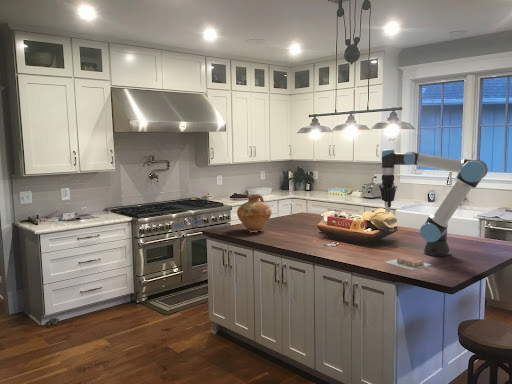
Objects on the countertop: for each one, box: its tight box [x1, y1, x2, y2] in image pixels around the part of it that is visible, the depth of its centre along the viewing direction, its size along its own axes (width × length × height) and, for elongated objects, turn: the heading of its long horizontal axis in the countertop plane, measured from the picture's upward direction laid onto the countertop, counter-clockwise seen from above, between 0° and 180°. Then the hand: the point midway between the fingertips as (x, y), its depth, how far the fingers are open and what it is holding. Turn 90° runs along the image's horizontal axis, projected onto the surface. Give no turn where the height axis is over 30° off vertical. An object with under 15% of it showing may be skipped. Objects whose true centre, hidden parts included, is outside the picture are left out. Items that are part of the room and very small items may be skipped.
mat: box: [384, 258, 432, 271], centre depth 257 cm, size 20×17×1 cm
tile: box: [396, 256, 425, 267], centre depth 255 cm, size 2×8×12 cm
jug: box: [236, 193, 272, 232], centre depth 362 cm, size 28×28×30 cm
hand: (387, 211), depth 281 cm, fingers closed
